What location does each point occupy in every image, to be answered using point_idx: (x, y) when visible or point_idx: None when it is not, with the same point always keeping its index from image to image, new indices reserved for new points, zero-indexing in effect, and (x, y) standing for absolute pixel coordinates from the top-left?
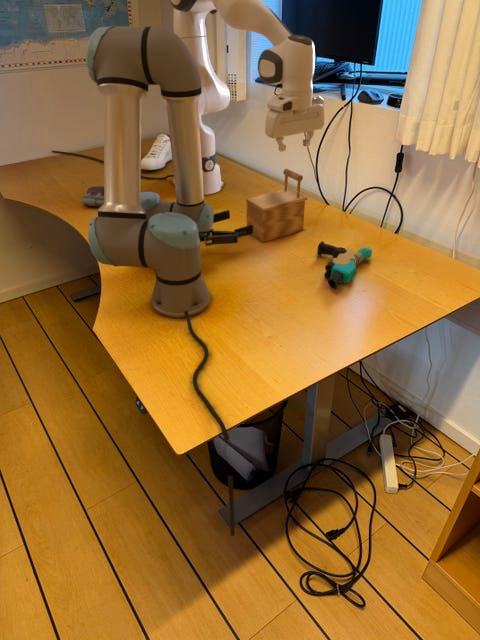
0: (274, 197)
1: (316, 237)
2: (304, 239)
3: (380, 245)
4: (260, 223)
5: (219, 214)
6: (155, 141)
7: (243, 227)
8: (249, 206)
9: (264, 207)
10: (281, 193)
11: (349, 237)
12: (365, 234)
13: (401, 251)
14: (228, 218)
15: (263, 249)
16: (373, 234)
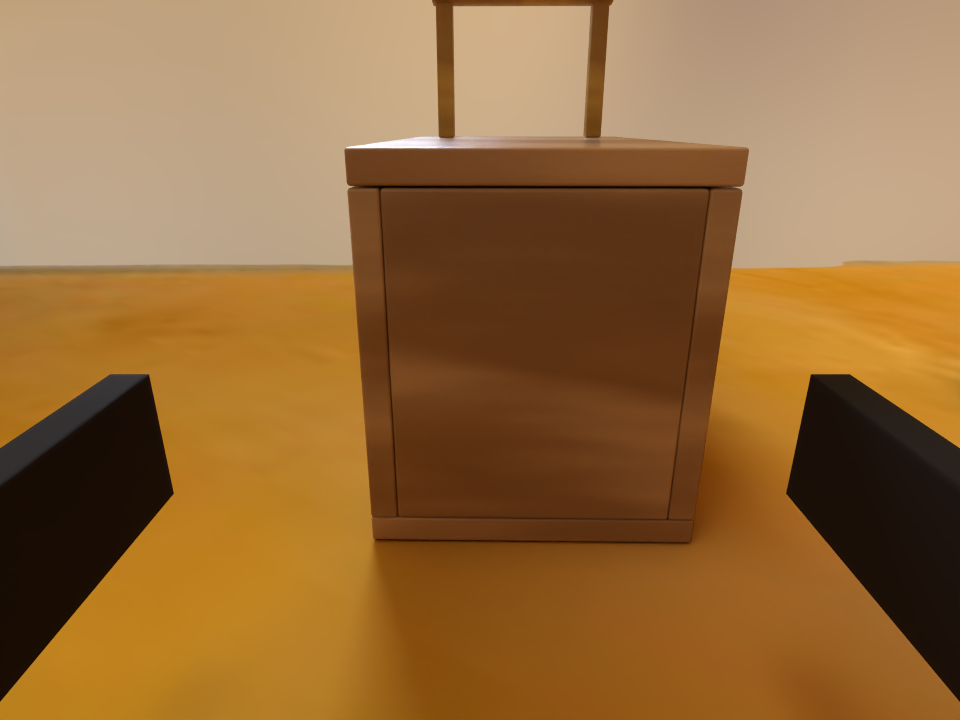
0: (503, 140)
1: (723, 355)
2: (732, 384)
3: (869, 295)
4: (664, 359)
5: (9, 503)
6: None
7: (952, 460)
8: (421, 227)
9: (703, 146)
10: (464, 138)
11: (764, 310)
12: (749, 289)
13: (934, 287)
14: (160, 501)
15: (879, 609)
16: (756, 282)
